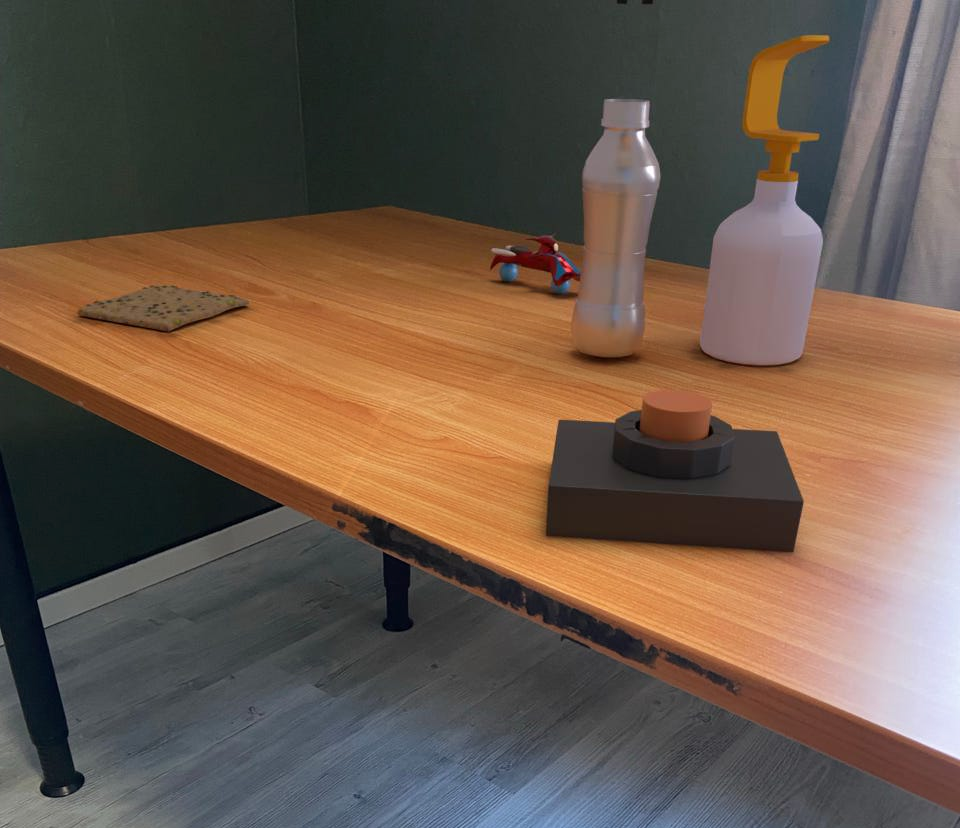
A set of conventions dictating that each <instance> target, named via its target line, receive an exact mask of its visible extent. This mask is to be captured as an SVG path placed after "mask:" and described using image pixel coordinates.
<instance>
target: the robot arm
mask: <svg viewBox="0 0 960 828" xmlns="http://www.w3.org/2000/svg"><path fill="white" fill-rule="evenodd" d="M616 4H617V5H627V4H628V0H616ZM653 4H654V0H641V5H653Z"/></svg>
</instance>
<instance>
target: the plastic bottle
mask: <svg viewBox="0 0 960 828" xmlns="http://www.w3.org/2000/svg"><path fill="white" fill-rule="evenodd" d="M650 102H651V101H650V100H646V99H635V98H634V99H633V98H607V99H604V101H603V106H602V107H603V108H602V118H601V119H600V121H601V122H600V126H601V127H604V130H603V134H602V136H601V137H600V139H599V140H598V141H597V143H596V144H595V145H594V146H593V148H592V150H591V151H590V153H589V155H588V156H587V158H586V160H585V163H584V165H583V168H582V172H581V186H582V188H581V192H582V193H581V194H582V209H583V243H584V245H583V248H582V264H581V270H580V271H581V276H580V281H579V285H578V291H577V298H575V303H574V305H573V309H572V315H571V321H570V330H571V339H572V342H573V344H574V345H575V347H576V349H577V350H578V351H579V352H581V353H583V354H586V355H589V356H593V357H601V358H622V357H626V356H631V355H633V354H635V353H636V351H637V350H638V349H639V348H640V346H641V345H642V342H643V339H644V336H645V335H644V334H645V330H646V309H645V302H644V297H645V296H644V294H645V293H644V292H645V261H646V255H647V245H648V241H649V235H650V229H651V228H650V227H651V223H652V218H653V214H654V211H655V210H654V209H655V206H656V201H657V197H658V190H659V188H660V182H661V179H662V177H661V170H660V163H659V161H658V158H657V157H656V154H655V152H654V150H653V147H652V146H651V144H650V142H649V140H648V139H647V137H646V129H647V128H650V119H649V118H650V108H651V107H650V106H651V104H650Z"/></svg>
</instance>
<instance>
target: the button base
mask: <svg viewBox="0 0 960 828" xmlns="http://www.w3.org/2000/svg"><path fill="white" fill-rule="evenodd" d="M641 411H642V409H638V410H632V411H629V412H627V413H624V414H623V415H621V416H619V417H617V418H616V419H615V421H614V422H613V421H596V420H595V421H594V420H575V419H558V421H557V428H556V434H555V441H554V446H553V453H552V460H551V467H550V471H549V479H548V486H547V487H548V488H547V503H546V519H545V520H546V524H545V536H546V537H555V538H570V539H571V538H572V539H584V540H599V541H614V542H615V541H617V542H632V543H644V544H645V543H646V544H647V543H649V544H661V545H675V546H676V545H677V546H692V547H693V546H694V547H708V548H724V549H739V550H751V551H752V550H753V551H755V550H756V551H769V552H781V553H782V552H784V553H794V552H795V548H796V541H797V538H798V533H799V527H800V521H801V519H802V513H803V508H804V502H805V501H804V498H803V495H802V492H801V490H800V487H799V485H798V482H797V479H796V477H795V474H794V471H793V469H792V467H791V464H790V461H789V459H788V456H787V454H786V451H785V449H784V446H783V444H782V441H781V438H780V435H779V432H778V431H776V430H759V429H742V428H733V426H732V425H731V424H730V423H728V422H726V421H724V420H722V419H721V418H719V417H717V416H715V415H712V414H711V417H710V424H709V431H708V437H707V438H706V439H705V440H698V441H692V442H678V441H664V440H660V439H656V438H652V437H648V436H646V435H644V434H642V433H641V432H640V431H639V430H640V420H641Z"/></svg>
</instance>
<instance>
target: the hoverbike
mask: <svg viewBox="0 0 960 828" xmlns="http://www.w3.org/2000/svg"><path fill="white" fill-rule="evenodd" d="M555 235H556V233H552V234H551V235H541V236H540V237H537V238H535V237H528V238H525V241H534V242H537V243H539V244H540V246H539V248H538V250H535V251H532V250H531V249H529V248H528V247H527V246H526V245H524V244H518V245H506V246H505V249H501V248H495V247H494V248H491V249H490V252H491V254H493V255H494V256H493V258H492V261H491V264H490V268H489V270H490V271H491V270H493V269H494V268H495V267H496V266H497V265H498V264H501V265H500V267H499V270H498V272H499V273H498V275H499V277H500V278H501V280H502V281H504V282H506V283H509V282H512V281H514V280H515V279H516V278H517V276H518V272H519V271H518V270H519V269H518V267H517V266H519V267H522V268H526V269H529V270H536V271H541V272H545V273H549V274H550V275H551V277H552V279H551V282H550V287H551V289H552V291H553V292H554V293H556V294H559V295H563V294H566V293H567V292H568V291H569V290H570V287H571V279H572V280H574V281H576V282H580V276H581V270H580V269H579V267H577V265H575V264H574V263H573V262H572V261H571V259H570V258H569V256H567V255H566V254H564V253H563V252H561V251H559V243H558V241H557V240H556V239H555V238H554V237H555Z"/></svg>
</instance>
